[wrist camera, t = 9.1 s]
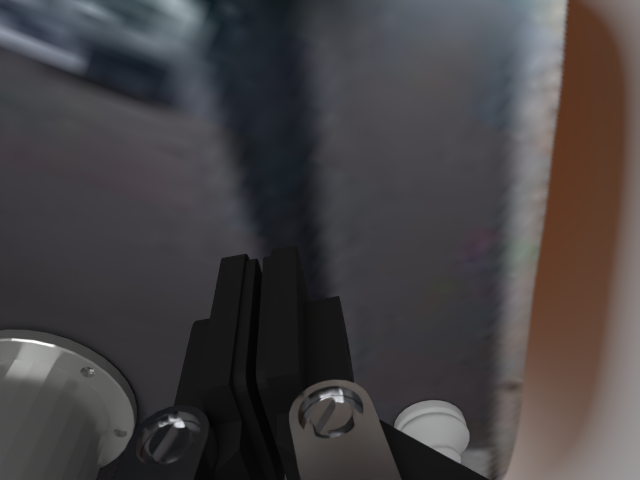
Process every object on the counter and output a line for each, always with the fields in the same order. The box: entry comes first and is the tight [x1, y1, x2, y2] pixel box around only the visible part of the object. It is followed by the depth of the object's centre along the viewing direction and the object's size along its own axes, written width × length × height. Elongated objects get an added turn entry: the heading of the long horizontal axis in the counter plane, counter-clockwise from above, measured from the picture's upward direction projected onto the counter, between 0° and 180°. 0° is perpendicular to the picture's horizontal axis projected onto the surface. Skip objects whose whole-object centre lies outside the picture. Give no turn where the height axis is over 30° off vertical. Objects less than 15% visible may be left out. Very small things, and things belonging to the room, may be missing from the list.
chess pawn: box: [394, 400, 469, 464], centre depth 36 cm, size 5×5×9 cm
